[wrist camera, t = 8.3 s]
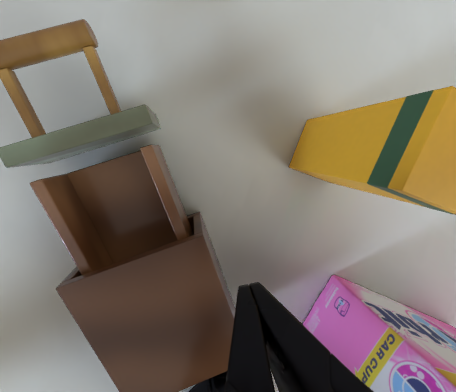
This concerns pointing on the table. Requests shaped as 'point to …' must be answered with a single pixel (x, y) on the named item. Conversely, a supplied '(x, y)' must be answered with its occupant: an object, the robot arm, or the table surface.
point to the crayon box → (388, 149)
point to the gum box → (384, 339)
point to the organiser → (157, 315)
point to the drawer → (97, 174)
